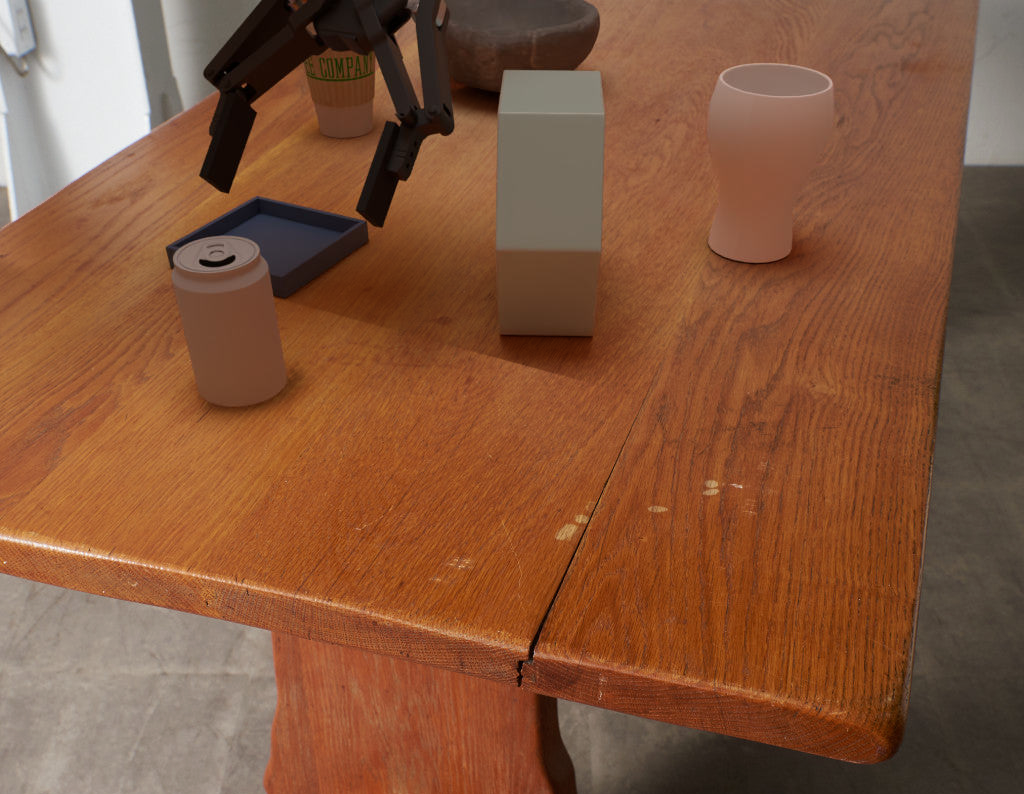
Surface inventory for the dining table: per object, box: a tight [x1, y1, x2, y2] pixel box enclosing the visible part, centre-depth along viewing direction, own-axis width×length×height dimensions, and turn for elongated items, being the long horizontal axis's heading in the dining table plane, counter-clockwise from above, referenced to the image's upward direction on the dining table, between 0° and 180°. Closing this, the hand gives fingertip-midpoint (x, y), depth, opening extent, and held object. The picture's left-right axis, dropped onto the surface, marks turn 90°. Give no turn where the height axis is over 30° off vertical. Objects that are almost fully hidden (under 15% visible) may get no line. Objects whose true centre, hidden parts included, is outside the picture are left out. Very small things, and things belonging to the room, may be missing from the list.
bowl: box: [443, 0, 601, 93], centre depth 128 cm, size 23×22×10 cm
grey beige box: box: [494, 70, 606, 337], centre depth 81 cm, size 17×8×21 cm
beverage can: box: [170, 236, 288, 408], centre depth 71 cm, size 6×6×12 cm
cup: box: [706, 62, 835, 264], centre depth 90 cm, size 11×11×15 cm
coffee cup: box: [302, 22, 376, 139], centre depth 115 cm, size 10×10×15 cm
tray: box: [165, 195, 370, 299], centre depth 93 cm, size 13×13×2 cm
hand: (288, 202), depth 72 cm, fingers open, 13 cm apart
